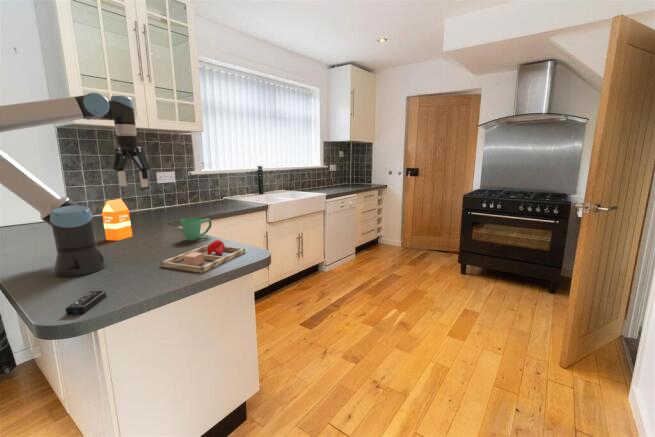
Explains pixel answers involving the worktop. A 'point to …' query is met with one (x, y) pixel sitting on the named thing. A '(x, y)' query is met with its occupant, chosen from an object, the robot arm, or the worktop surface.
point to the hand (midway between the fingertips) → (133, 186)
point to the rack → (216, 259)
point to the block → (194, 259)
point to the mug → (193, 227)
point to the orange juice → (116, 220)
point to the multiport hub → (85, 303)
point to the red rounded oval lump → (216, 247)
